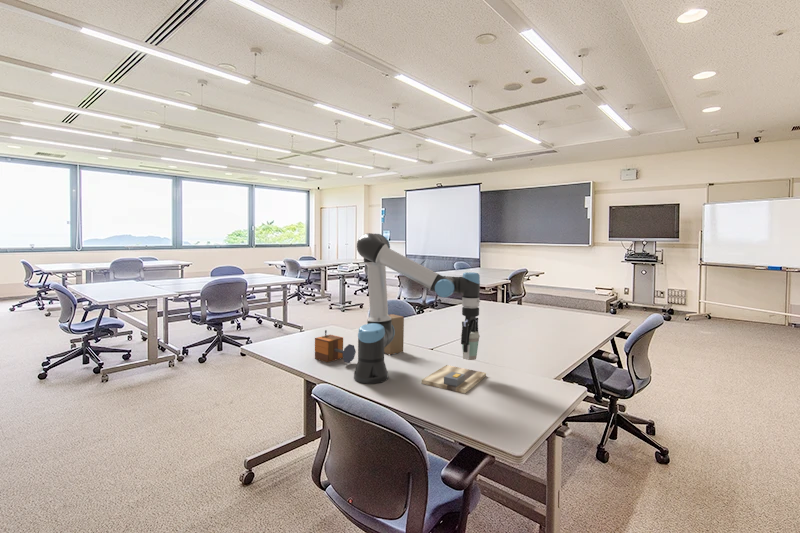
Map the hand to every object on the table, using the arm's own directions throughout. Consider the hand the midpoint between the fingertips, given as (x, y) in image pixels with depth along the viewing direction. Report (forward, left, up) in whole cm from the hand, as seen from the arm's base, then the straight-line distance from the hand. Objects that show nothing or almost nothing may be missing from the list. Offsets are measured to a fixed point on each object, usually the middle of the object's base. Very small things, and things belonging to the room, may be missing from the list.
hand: (469, 356), depth 176 cm
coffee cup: (0, 0, -1) cm, 1 cm away
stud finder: (-1, -14, -8) cm, 16 cm away
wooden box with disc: (-67, -15, -10) cm, 69 cm away
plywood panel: (-4, -7, -10) cm, 12 cm away
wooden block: (-52, +14, -10) cm, 55 cm away
